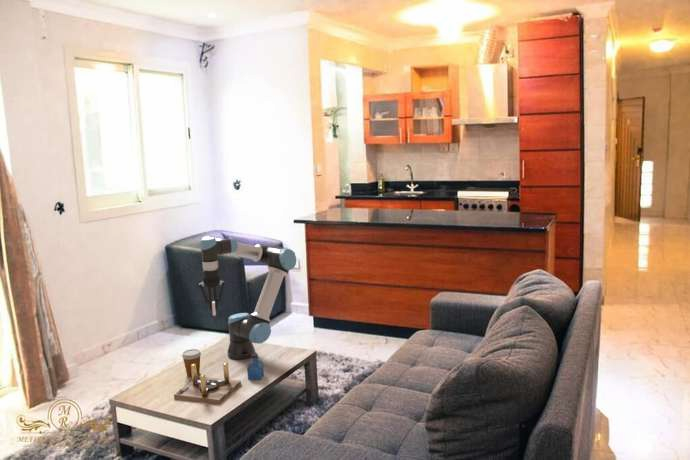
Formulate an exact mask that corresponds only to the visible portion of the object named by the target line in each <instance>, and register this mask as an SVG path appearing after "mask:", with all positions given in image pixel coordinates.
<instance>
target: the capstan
mask: <svg viewBox="0 0 690 460" xmlns="http://www.w3.org/2000/svg"><path fill="white" fill-rule="evenodd" d="M222 367H223V369H222V370H223V378H221V379H222V380H218V381H217V380H214V379H208V380H206V377H207V376H206V375H205V374H201V375H200V380H197V377H198V375H197V369H196V364H191V370H192V377H191V379H192V380H191V381H192V382H193V384H197V385H199V389H200V390H201V393H202V396H207V392H208V391H211V390H214V389H216V388H217V387H218V385H220V384H224V383H229V380H230V370H229V363H228V362H223V363H222Z"/></svg>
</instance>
